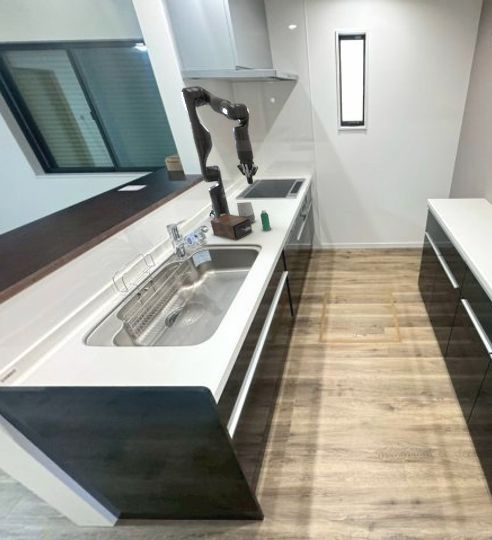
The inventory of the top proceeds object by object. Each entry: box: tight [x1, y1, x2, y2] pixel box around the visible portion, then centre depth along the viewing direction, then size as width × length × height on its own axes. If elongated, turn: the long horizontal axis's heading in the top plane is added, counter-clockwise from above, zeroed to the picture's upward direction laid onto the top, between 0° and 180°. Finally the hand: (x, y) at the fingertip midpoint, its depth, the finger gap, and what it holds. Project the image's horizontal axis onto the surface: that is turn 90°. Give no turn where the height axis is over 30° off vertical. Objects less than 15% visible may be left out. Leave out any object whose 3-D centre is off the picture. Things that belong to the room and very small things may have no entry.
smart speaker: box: [236, 201, 256, 224], centre depth 185 cm, size 10×9×14 cm
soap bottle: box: [260, 209, 271, 232], centre depth 174 cm, size 4×4×12 cm
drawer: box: [234, 220, 253, 240], centre depth 170 cm, size 20×11×7 cm, turn 61°
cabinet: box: [210, 213, 252, 241], centre depth 171 cm, size 18×13×9 cm
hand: (250, 184), depth 157 cm, fingers closed
